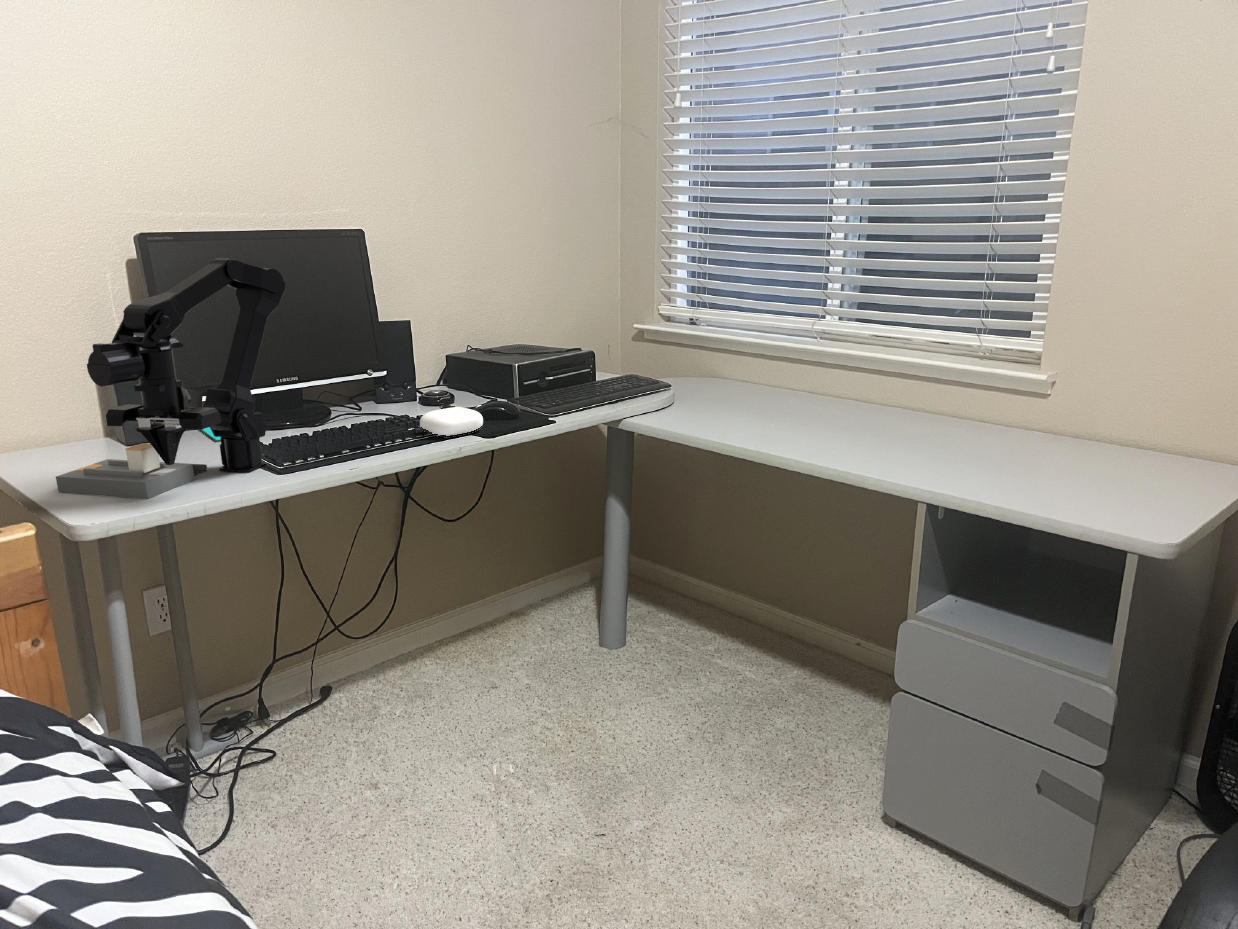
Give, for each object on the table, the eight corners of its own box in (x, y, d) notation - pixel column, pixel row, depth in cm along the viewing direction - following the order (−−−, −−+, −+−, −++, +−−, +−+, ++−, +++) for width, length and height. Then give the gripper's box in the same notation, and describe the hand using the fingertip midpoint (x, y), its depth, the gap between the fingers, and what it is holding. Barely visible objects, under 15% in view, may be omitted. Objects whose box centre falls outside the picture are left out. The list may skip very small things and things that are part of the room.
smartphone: (232, 423, 204) (250, 435, 192) (232, 426, 204) (251, 438, 193) (198, 428, 199) (215, 440, 188) (198, 431, 200) (215, 444, 188)
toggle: (160, 467, 156) (156, 443, 155) (144, 473, 153) (140, 449, 152) (145, 466, 157) (142, 443, 156) (129, 472, 153) (125, 448, 152)
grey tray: (194, 479, 160) (191, 459, 159) (147, 499, 149) (144, 477, 148) (110, 474, 164) (107, 454, 163) (58, 493, 153) (54, 472, 152)
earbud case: (415, 434, 195) (413, 410, 194) (464, 425, 204) (463, 402, 202) (439, 442, 188) (438, 418, 187) (489, 432, 197) (488, 409, 195)
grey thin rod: (207, 470, 166) (206, 463, 166) (203, 472, 165) (202, 465, 165) (141, 468, 168) (140, 461, 168) (136, 470, 167) (135, 463, 166)
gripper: (234, 370, 155) (245, 455, 159) (143, 368, 159) (155, 450, 163) (193, 381, 145) (206, 471, 149) (96, 378, 148) (111, 466, 152)
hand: (170, 464), depth 153 cm, fingers closed
